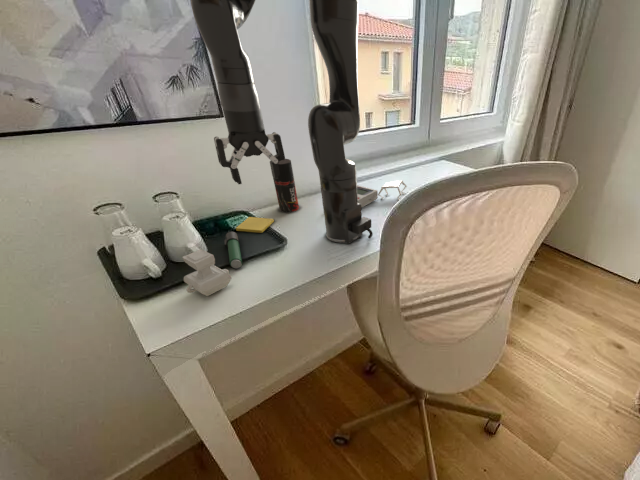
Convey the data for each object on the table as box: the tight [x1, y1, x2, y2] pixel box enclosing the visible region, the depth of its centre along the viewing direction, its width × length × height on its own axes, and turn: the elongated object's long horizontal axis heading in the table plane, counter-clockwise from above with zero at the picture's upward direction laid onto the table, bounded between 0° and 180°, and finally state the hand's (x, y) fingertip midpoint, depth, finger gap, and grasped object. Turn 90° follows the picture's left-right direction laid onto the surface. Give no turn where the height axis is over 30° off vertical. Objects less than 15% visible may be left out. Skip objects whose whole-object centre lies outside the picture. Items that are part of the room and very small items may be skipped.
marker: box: [223, 231, 243, 269], centre depth 79 cm, size 14×3×3 cm, turn 27°
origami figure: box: [378, 180, 408, 201], centre depth 114 cm, size 12×8×5 cm
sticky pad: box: [235, 216, 275, 234], centre depth 93 cm, size 8×8×1 cm
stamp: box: [181, 248, 232, 297], centre depth 66 cm, size 9×7×8 cm
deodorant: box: [269, 158, 300, 213], centre depth 99 cm, size 6×6×15 cm
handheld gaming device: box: [357, 184, 379, 209], centre depth 108 cm, size 9×15×4 cm, turn 150°
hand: (257, 180), depth 79 cm, fingers open, 8 cm apart
